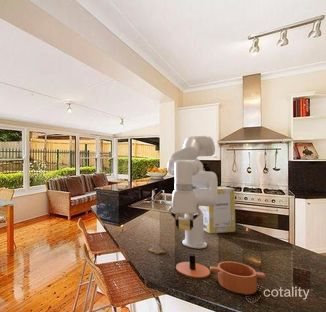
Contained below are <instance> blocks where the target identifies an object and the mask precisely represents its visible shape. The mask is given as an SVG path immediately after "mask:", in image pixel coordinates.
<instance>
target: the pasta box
mask: <svg viewBox="0 0 326 312" xmlns="http://www.w3.org/2000/svg"><path fill="white" fill-rule="evenodd" d="M202 189H208V188H202ZM235 199H236V196H235V188H233V187H228V186H218V199H217V204H216V206H213V207H210V206H198V207H199V208H200V209H201V211H202V213H203V230H204V232H206V233H208V234H219V233H221V234H222V233H235V232H236V203H235V202H236V200H235Z"/></svg>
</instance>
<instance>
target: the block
mask: <svg viewBox="0 0 326 312" xmlns="http://www.w3.org/2000/svg"><path fill="white" fill-rule="evenodd" d="M178 218H179V229H178V231H185V230H186V231H190V218H185V217H180V216H178Z"/></svg>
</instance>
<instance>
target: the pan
mask: <svg viewBox="0 0 326 312" xmlns="http://www.w3.org/2000/svg"><path fill="white" fill-rule="evenodd" d="M209 270H210V272H214V273H217V281H218V284H219V285H220V286H221V287H222V288H224V289H226V290H228V291H231V292H233V293H236V294H243V295H251V294H255V293H256V292H257V290H258V278H259V279H260V278H261V279H266V278H267V277H266V274H265V273H264V272H261V271H256V270H255V269H254V268H253V267H252V266H250V265H248V264H245V263H241V262H237V261H228V260H227V261H221V262H219V263H218V264H217V266H215V265H209Z"/></svg>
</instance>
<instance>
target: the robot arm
mask: <svg viewBox="0 0 326 312" xmlns="http://www.w3.org/2000/svg"><path fill="white" fill-rule="evenodd" d="M183 142H184V143H183V145H182V148H181V149H179V150H177V151H175V152H173V153H172V154H171V155H170V156H169V159H168V161H167V164H166V169H167V172H168V174H169V175H171V176H174V190H173V191H172V196H171V205H170V206H169V208H168V209H167V213H168V214H169V215H170V216H172V217H173V219H175V227H176V228H177V229H178V230H179V217H180V216H179V215H180V214H182V215H184V218H190V231H186V230H184V239H183V240H182V243H181V244H182V245H183V246H184V247H188V248H191V249H198V250H199V249H201V250H202V249H205V248H207V247H208V243H207V242H206V241H205V239H204V238H205V235H204V234H205V233H204V232H205V231H204V230H203V213H202V211H201V209H200V208H199V206H210V207H213V206H216V204H217V199H218V187H219V186H218V185H219V184H218V176H217V174H216V172H214V171H204V164H203V163H202V162H201V161H200V159H198V157H212V156H214V155H215V152H216V146H215V142H214V139H213V138H212V137H211V136H210V135H192V136H188V137H187V138H185V140H184V141H183ZM202 188H208V189H202Z"/></svg>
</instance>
